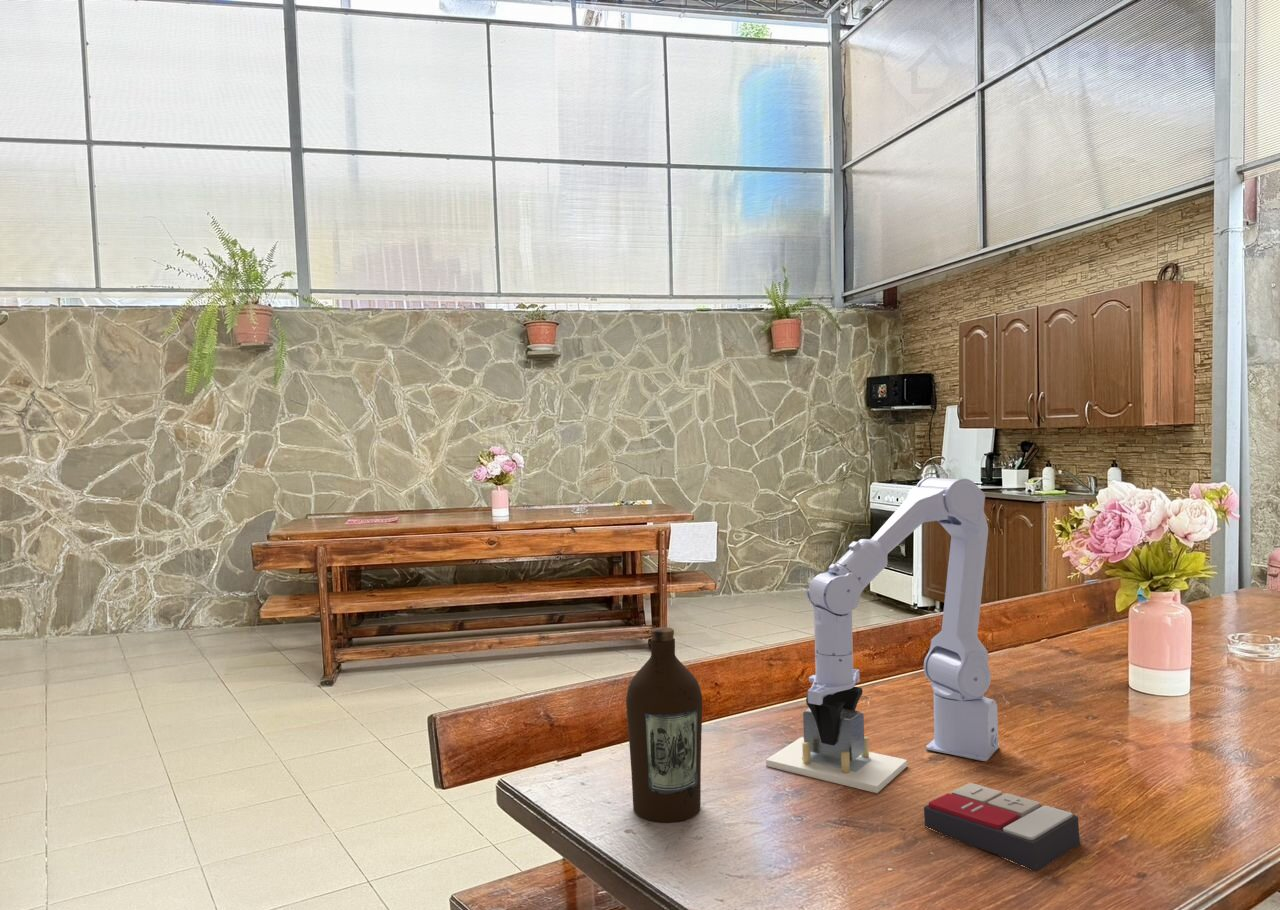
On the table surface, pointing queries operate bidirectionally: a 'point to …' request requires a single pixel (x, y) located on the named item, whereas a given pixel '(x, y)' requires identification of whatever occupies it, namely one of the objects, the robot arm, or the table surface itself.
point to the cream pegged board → (839, 766)
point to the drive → (847, 736)
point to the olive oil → (665, 734)
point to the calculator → (1004, 825)
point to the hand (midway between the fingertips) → (835, 738)
